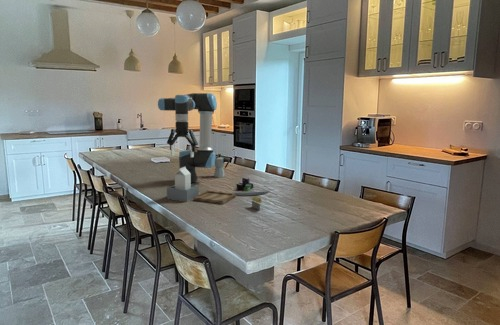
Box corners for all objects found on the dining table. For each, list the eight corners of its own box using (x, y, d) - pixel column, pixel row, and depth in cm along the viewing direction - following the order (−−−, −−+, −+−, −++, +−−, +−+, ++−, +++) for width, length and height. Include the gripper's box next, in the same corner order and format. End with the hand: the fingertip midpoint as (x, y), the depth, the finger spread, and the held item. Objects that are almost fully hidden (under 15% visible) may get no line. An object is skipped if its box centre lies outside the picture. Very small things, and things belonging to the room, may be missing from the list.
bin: (167, 199, 216) (166, 187, 215) (179, 193, 229) (179, 183, 228) (187, 201, 211) (187, 190, 210) (198, 196, 224) (198, 185, 223)
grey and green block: (257, 203, 211) (257, 192, 210) (275, 211, 196) (275, 200, 195) (239, 206, 205) (239, 195, 204) (256, 215, 190) (257, 203, 189)
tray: (193, 200, 214) (193, 197, 214) (207, 193, 230) (207, 190, 230) (223, 204, 207) (223, 200, 207) (235, 196, 223) (235, 193, 223)
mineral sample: (274, 186, 255) (274, 173, 253) (263, 198, 221) (262, 183, 220) (229, 185, 264) (228, 173, 263) (211, 196, 231) (210, 183, 229)
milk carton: (191, 196, 222) (190, 166, 219) (185, 199, 215) (184, 168, 212) (181, 195, 224) (180, 166, 221) (175, 198, 218) (174, 168, 214)
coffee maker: (209, 176, 281) (209, 154, 278) (214, 174, 289) (214, 152, 286) (226, 178, 276) (226, 155, 273) (231, 176, 284) (231, 154, 281)
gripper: (160, 120, 213) (161, 155, 216) (197, 122, 204) (197, 158, 207) (167, 120, 220) (168, 154, 223) (203, 121, 211) (203, 157, 214)
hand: (182, 156), depth 215 cm, fingers open, 13 cm apart
